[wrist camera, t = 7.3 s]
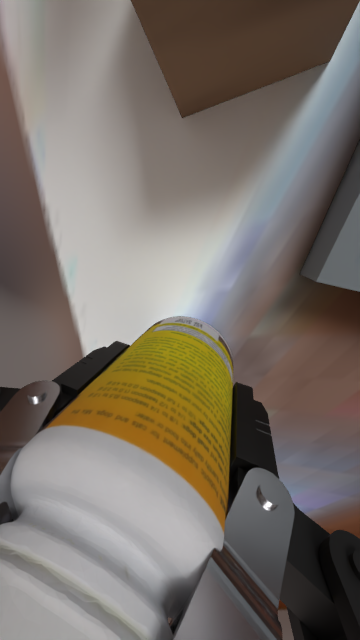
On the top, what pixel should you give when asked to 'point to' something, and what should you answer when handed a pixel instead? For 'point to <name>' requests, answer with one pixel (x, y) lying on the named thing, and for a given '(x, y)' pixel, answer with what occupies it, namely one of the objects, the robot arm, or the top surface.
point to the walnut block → (238, 43)
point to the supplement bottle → (122, 494)
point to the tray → (339, 235)
